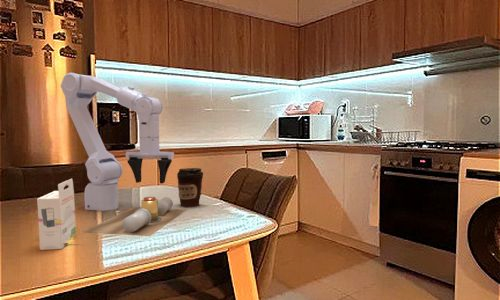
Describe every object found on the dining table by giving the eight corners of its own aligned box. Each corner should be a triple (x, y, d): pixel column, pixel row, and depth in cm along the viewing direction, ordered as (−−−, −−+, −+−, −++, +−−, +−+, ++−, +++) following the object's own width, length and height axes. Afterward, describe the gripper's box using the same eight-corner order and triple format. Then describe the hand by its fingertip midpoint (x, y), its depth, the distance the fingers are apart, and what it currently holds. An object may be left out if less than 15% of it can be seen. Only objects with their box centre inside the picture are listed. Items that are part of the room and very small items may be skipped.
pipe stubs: (121, 233, 90) (120, 214, 90) (159, 210, 113) (159, 195, 112) (139, 234, 89) (138, 215, 89) (174, 211, 112) (173, 196, 112)
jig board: (82, 235, 90) (82, 231, 90) (133, 210, 116) (132, 207, 116) (150, 239, 87) (150, 235, 87) (187, 212, 113) (187, 209, 113)
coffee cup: (197, 212, 114) (197, 170, 113) (173, 210, 115) (172, 170, 114) (206, 205, 122) (206, 167, 121) (183, 204, 124) (182, 166, 123)
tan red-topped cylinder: (139, 221, 99) (138, 199, 98) (146, 217, 103) (145, 196, 103) (154, 222, 98) (154, 199, 98) (160, 217, 103) (160, 196, 102)
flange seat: (135, 222, 99) (135, 221, 99) (145, 216, 104) (145, 216, 104) (156, 223, 98) (156, 222, 98) (165, 217, 103) (165, 217, 103)
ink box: (55, 237, 89) (53, 178, 88) (76, 237, 89) (74, 177, 88) (38, 250, 80) (35, 184, 79) (61, 249, 81) (58, 184, 79)
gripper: (120, 137, 106) (121, 184, 107) (167, 138, 103) (167, 185, 105) (131, 136, 113) (132, 180, 114) (176, 137, 110) (176, 181, 112)
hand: (150, 182), depth 110 cm, fingers open, 7 cm apart
